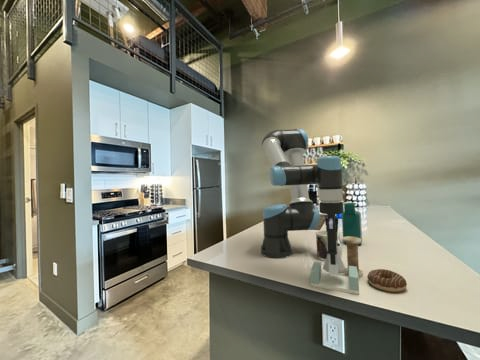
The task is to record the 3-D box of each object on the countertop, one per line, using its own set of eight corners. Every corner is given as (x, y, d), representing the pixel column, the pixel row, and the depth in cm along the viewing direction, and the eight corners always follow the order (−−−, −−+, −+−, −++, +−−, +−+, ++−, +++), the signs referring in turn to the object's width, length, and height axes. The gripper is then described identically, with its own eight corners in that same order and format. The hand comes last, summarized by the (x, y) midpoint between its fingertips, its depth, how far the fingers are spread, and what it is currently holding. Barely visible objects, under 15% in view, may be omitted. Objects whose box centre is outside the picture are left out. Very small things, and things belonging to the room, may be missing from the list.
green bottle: (345, 240, 119) (343, 201, 120) (362, 242, 114) (360, 201, 115) (342, 244, 111) (340, 203, 112) (360, 247, 106) (358, 203, 107)
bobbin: (344, 275, 77) (342, 240, 77) (344, 269, 82) (342, 235, 82) (363, 278, 74) (361, 241, 74) (362, 271, 79) (360, 237, 79)
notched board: (311, 286, 70) (310, 271, 70) (314, 274, 78) (313, 261, 78) (359, 294, 64) (358, 278, 64) (357, 281, 72) (356, 266, 72)
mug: (342, 254, 97) (341, 230, 97) (342, 264, 86) (341, 237, 86) (317, 252, 102) (316, 229, 102) (315, 261, 91) (314, 235, 91)
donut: (416, 293, 64) (415, 279, 64) (383, 296, 63) (383, 282, 63) (388, 277, 75) (388, 265, 75) (360, 279, 74) (360, 268, 74)
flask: (342, 265, 74) (341, 237, 74) (349, 274, 67) (347, 243, 67) (321, 265, 76) (319, 237, 76) (325, 273, 69) (323, 243, 69)
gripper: (343, 204, 61) (346, 284, 61) (343, 198, 79) (346, 260, 79) (315, 204, 65) (319, 279, 64) (321, 198, 82) (324, 257, 82)
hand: (334, 268), depth 72 cm, fingers closed on flask, 7 cm apart
